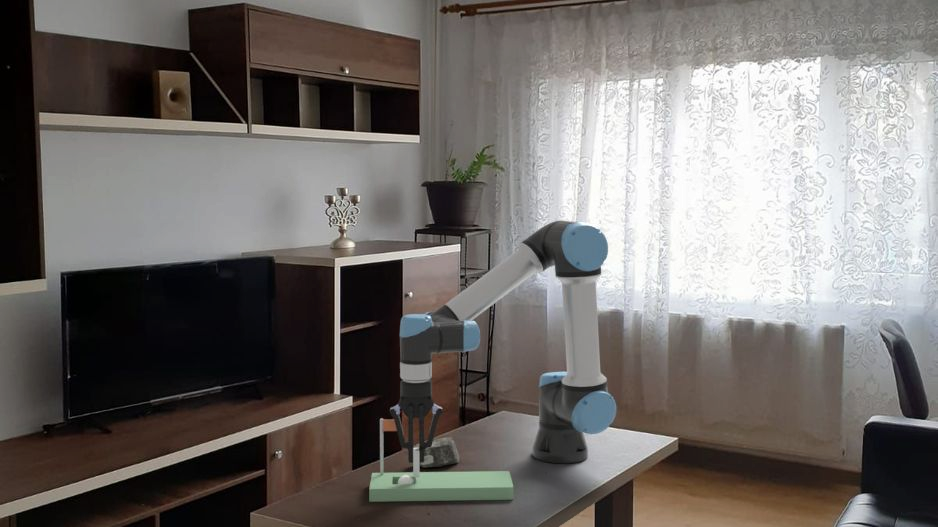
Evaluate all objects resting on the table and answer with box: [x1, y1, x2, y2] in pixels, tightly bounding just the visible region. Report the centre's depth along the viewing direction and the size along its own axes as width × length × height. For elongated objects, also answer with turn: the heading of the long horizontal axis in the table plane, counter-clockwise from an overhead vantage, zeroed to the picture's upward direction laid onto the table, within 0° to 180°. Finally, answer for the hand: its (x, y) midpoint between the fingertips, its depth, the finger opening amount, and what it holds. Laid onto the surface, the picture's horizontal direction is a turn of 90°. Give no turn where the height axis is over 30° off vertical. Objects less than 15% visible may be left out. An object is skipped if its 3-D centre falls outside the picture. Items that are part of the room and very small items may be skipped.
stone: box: [414, 436, 460, 469], centre depth 246 cm, size 14×7×10 cm, turn 125°
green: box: [368, 418, 515, 503], centre depth 224 cm, size 34×12×17 cm, turn 93°
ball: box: [398, 475, 414, 484], centre depth 224 cm, size 4×4×4 cm
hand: (416, 475), depth 224 cm, fingers closed
